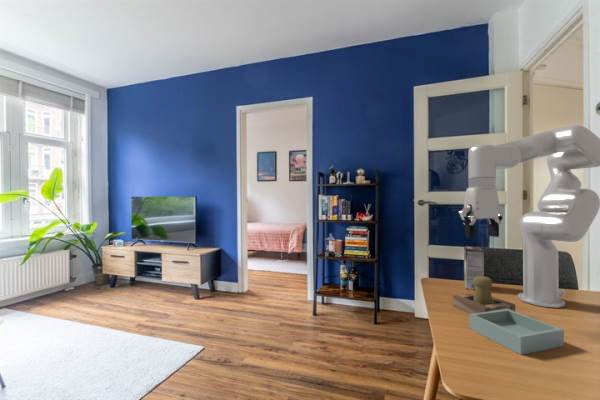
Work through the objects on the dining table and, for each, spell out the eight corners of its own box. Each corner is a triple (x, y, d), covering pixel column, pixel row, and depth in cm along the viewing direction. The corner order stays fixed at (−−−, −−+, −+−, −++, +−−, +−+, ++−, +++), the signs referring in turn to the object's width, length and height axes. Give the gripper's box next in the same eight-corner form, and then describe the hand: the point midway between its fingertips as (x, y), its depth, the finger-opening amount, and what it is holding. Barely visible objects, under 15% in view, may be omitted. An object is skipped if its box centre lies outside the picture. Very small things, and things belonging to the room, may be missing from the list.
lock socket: (480, 302, 99) (480, 292, 99) (515, 315, 87) (515, 304, 87) (452, 306, 96) (452, 295, 96) (484, 320, 84) (484, 308, 84)
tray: (507, 322, 83) (507, 308, 83) (563, 346, 69) (563, 329, 69) (469, 328, 79) (469, 314, 79) (520, 354, 65) (520, 337, 65)
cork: (497, 315, 88) (497, 279, 88) (476, 313, 89) (476, 278, 89) (488, 308, 94) (488, 274, 94) (468, 306, 95) (468, 273, 95)
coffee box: (463, 283, 122) (463, 245, 122) (481, 285, 120) (481, 246, 120) (465, 289, 114) (465, 249, 114) (484, 291, 111) (484, 250, 111)
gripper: (491, 185, 98) (492, 234, 98) (451, 184, 93) (451, 236, 93) (513, 183, 90) (513, 237, 90) (470, 182, 86) (470, 239, 86)
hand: (482, 236), depth 92 cm, fingers open, 9 cm apart
